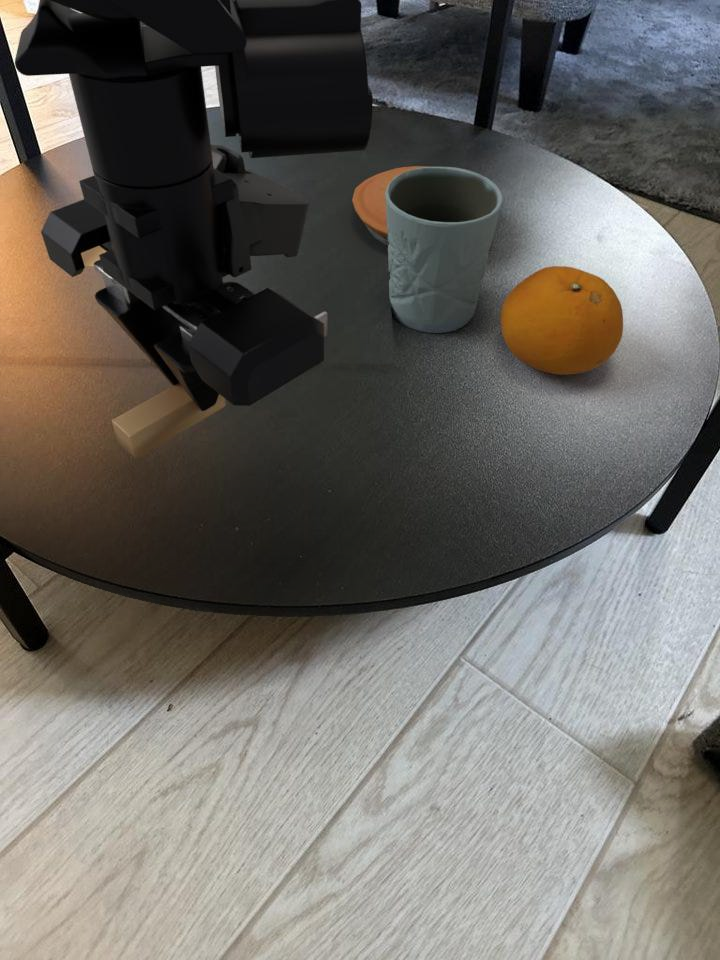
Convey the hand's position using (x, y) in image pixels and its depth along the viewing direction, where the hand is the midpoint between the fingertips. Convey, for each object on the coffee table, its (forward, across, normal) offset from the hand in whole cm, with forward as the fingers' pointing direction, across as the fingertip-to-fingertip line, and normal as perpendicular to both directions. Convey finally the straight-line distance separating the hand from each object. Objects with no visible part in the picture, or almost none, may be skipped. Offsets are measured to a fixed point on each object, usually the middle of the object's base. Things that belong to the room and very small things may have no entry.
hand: (196, 397), depth 47 cm
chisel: (+1, 0, -3) cm, 3 cm away
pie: (+11, +15, -41) cm, 45 cm away
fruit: (+11, -7, -34) cm, 36 cm away
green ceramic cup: (+11, +5, -31) cm, 33 cm away
